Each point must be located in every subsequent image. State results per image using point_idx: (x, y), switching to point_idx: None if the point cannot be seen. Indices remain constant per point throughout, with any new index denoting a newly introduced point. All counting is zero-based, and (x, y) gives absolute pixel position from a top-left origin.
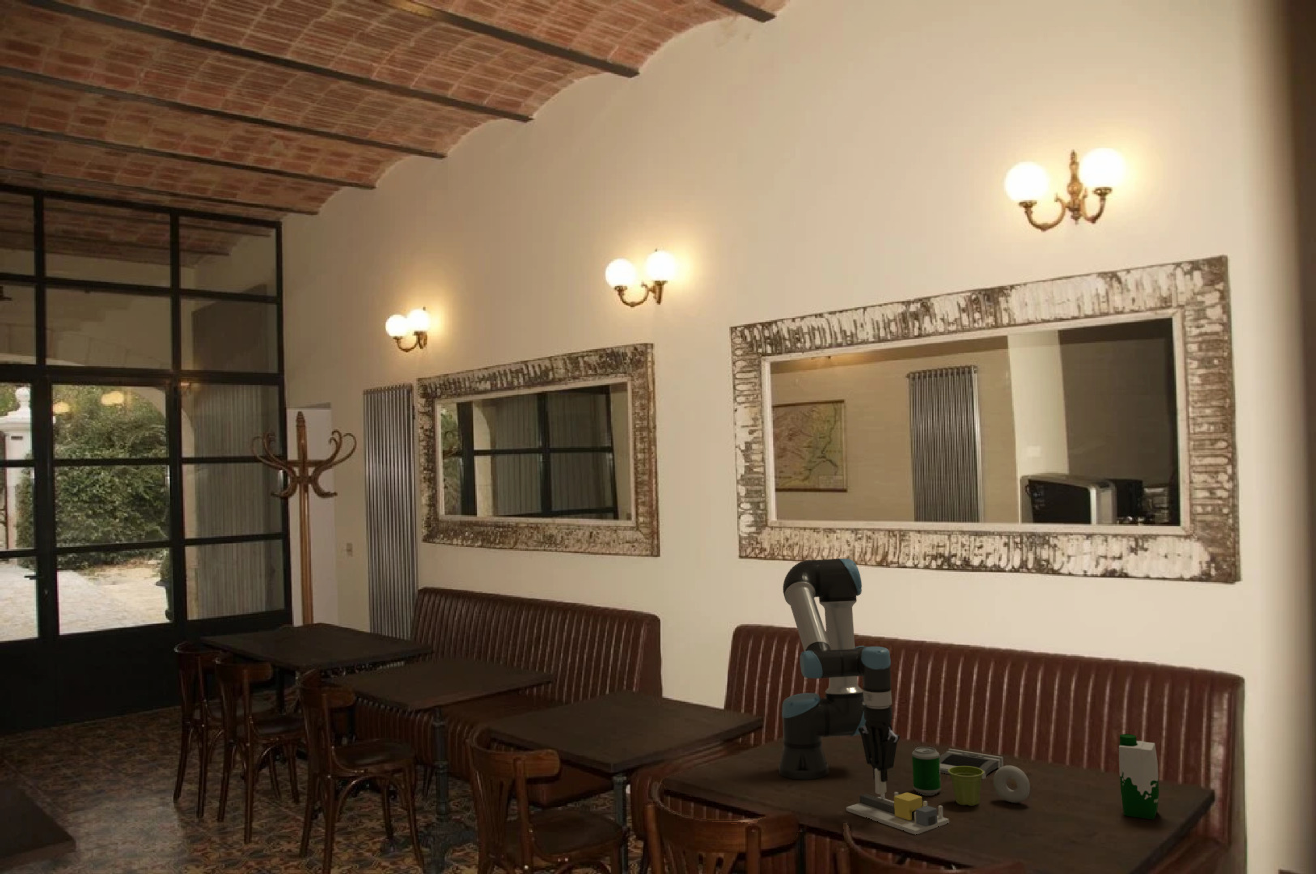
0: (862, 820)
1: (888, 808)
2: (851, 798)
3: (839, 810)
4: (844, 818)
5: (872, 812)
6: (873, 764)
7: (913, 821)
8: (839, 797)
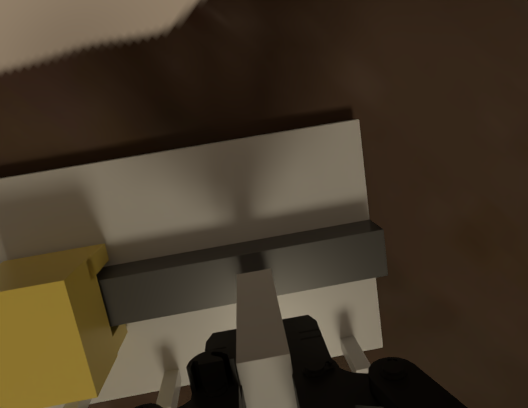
0: (198, 102)
1: (173, 260)
2: (477, 251)
3: (381, 95)
4: (272, 40)
5: (218, 185)
6: (316, 381)
7: None
8: (522, 212)
